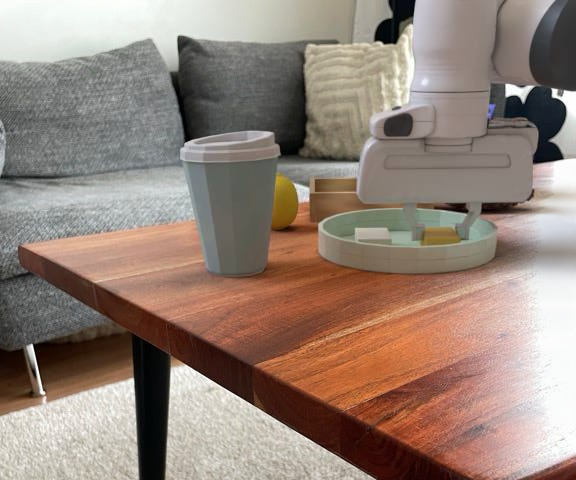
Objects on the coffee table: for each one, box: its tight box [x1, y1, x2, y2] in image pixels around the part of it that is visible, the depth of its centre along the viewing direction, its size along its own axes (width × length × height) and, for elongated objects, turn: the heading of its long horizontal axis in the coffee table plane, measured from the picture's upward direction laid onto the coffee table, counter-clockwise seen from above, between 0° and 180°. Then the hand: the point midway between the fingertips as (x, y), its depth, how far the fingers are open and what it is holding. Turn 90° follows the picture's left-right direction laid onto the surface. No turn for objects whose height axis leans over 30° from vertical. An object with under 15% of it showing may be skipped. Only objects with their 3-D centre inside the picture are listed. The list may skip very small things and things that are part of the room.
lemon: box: [271, 172, 299, 231], centre depth 98 cm, size 6×6×8 cm
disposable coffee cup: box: [179, 130, 282, 278], centre depth 78 cm, size 11×11×15 cm
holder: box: [308, 176, 435, 223], centre depth 108 cm, size 18×14×5 cm
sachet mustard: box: [419, 227, 461, 246], centre depth 87 cm, size 4×6×2 cm, turn 178°
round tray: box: [317, 208, 499, 275], centre depth 87 cm, size 21×21×4 cm
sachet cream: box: [355, 228, 392, 245], centre depth 87 cm, size 4×6×2 cm, turn 178°
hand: (438, 239), depth 87 cm, fingers closed on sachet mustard, 4 cm apart
